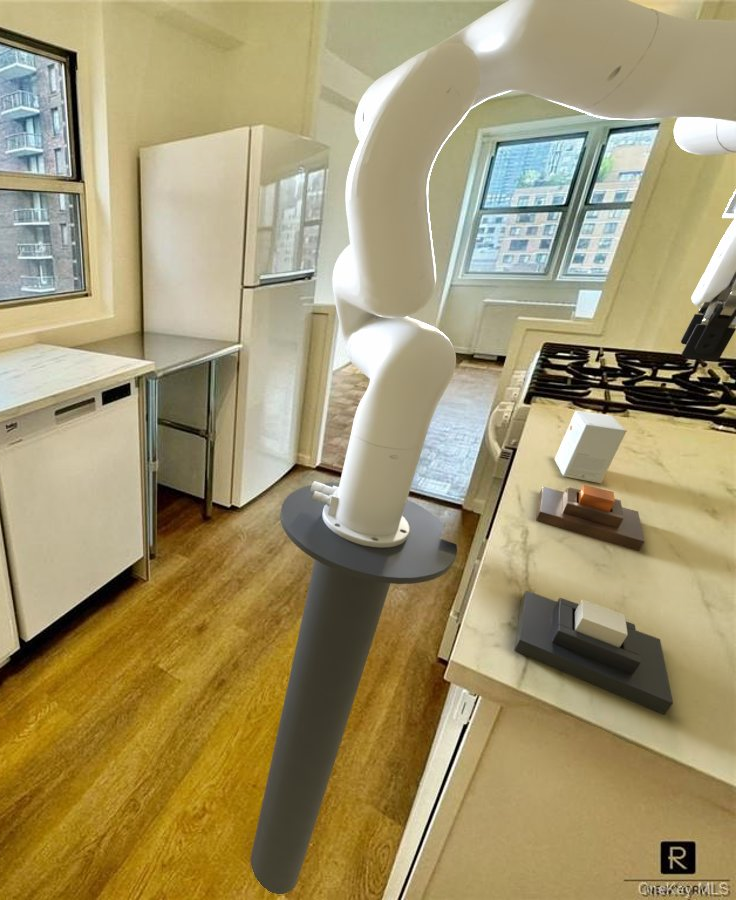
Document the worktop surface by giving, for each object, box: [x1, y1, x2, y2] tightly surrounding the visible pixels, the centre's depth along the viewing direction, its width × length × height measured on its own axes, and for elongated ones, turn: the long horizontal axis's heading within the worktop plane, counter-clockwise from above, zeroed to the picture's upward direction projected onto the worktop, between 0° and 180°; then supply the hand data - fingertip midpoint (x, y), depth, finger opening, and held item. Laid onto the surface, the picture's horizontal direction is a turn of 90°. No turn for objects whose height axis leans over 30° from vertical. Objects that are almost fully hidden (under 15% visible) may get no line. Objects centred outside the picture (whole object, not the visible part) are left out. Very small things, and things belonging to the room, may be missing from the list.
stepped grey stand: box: [514, 590, 674, 715], centre depth 53 cm, size 12×10×4 cm
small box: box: [554, 410, 627, 484], centre depth 88 cm, size 8×6×10 cm
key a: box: [574, 599, 628, 648], centre depth 52 cm, size 4×4×2 cm
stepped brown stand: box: [535, 486, 646, 552], centre depth 75 cm, size 12×10×4 cm
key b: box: [578, 484, 616, 512], centre depth 74 cm, size 4×4×2 cm
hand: (697, 351), depth 63 cm, fingers open, 9 cm apart
